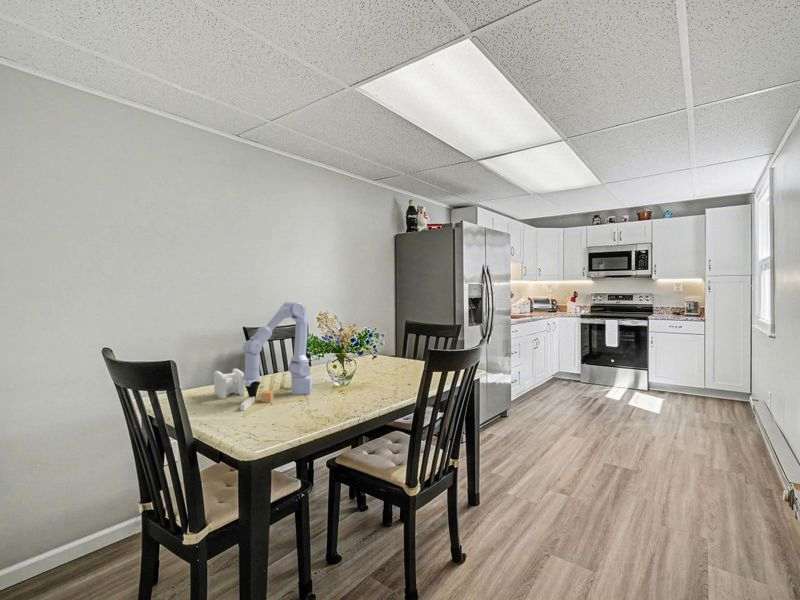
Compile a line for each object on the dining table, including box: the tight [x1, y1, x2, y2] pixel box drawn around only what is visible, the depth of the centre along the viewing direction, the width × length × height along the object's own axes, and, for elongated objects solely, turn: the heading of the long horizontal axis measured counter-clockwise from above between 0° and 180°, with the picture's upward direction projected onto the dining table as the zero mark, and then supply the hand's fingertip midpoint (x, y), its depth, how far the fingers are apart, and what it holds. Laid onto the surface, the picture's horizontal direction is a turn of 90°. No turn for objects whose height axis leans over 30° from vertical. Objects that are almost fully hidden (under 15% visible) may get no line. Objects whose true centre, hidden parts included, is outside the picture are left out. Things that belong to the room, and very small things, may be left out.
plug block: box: [260, 390, 274, 403], centre depth 180 cm, size 4×4×4 cm
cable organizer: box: [213, 368, 245, 400], centre depth 191 cm, size 15×11×12 cm
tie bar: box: [239, 396, 256, 412], centre depth 171 cm, size 2×12×2 cm, turn 2°
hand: (252, 399), depth 178 cm, fingers closed
